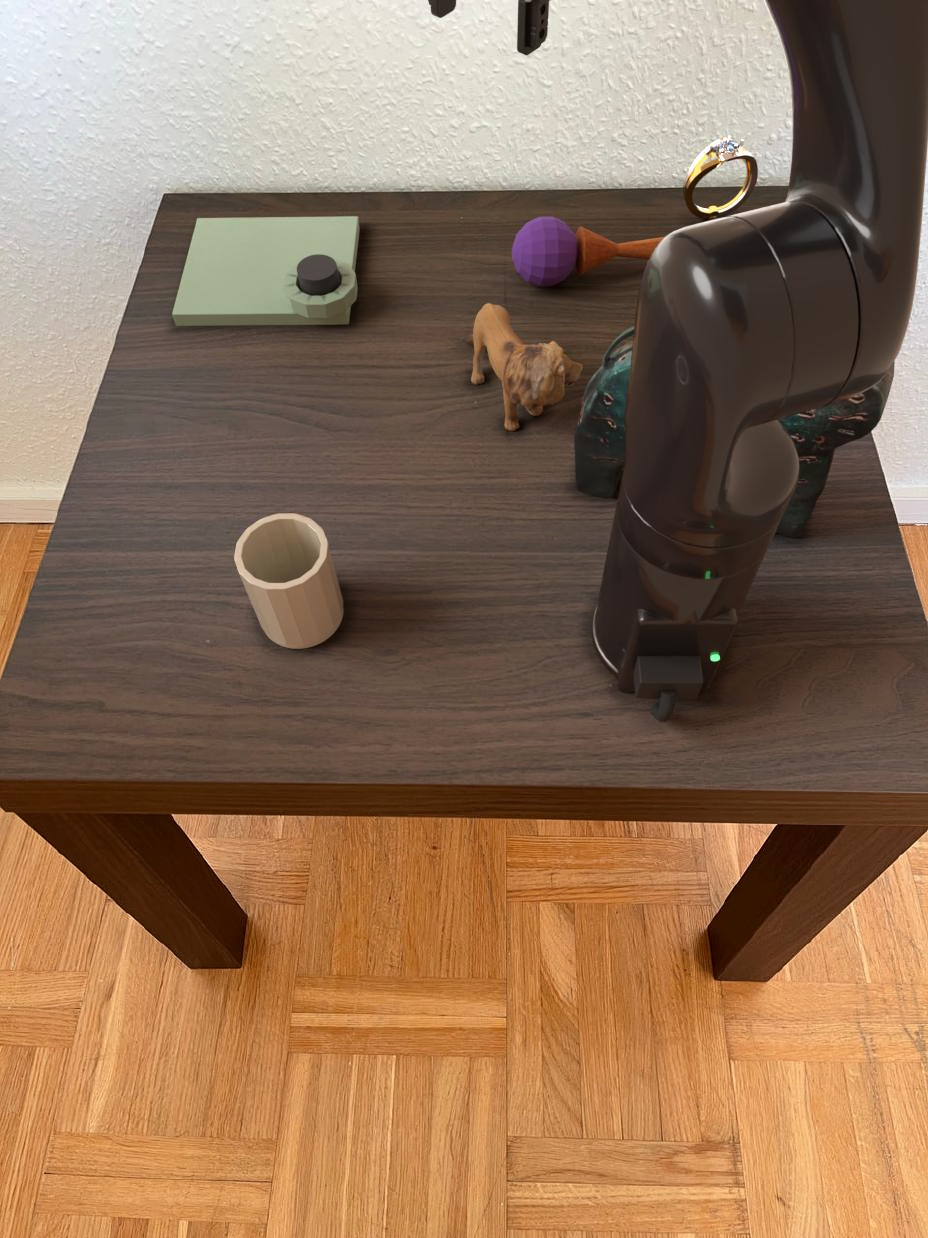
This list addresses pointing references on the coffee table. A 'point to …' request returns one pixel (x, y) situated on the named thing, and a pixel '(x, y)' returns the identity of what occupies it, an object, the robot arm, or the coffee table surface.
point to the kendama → (567, 251)
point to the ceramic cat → (810, 431)
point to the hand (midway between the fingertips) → (486, 30)
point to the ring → (725, 152)
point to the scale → (265, 271)
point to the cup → (290, 579)
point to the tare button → (318, 275)
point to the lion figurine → (519, 365)
